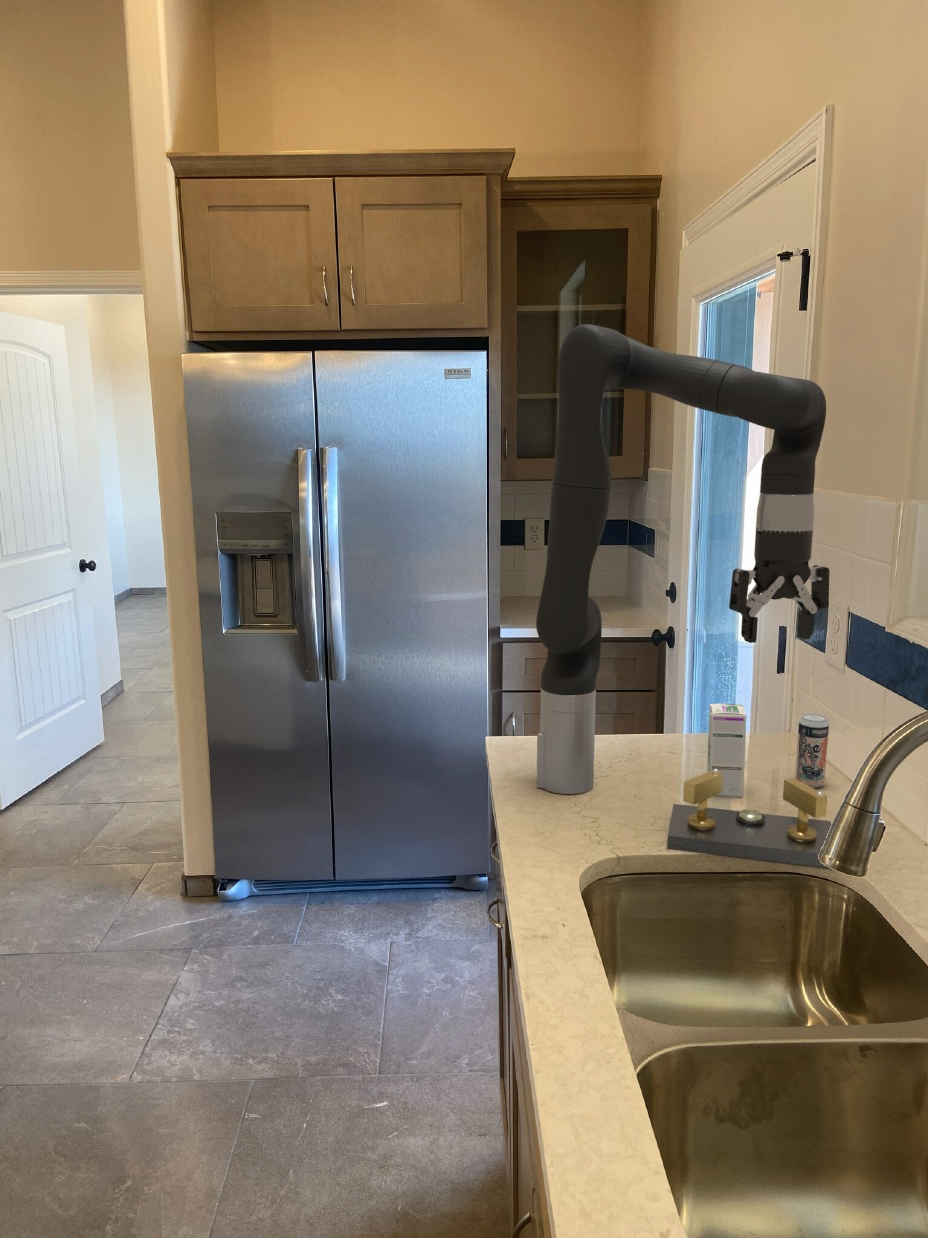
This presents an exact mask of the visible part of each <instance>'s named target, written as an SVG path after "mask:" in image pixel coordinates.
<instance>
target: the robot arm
mask: <svg viewBox="0 0 928 1238" xmlns="http://www.w3.org/2000/svg"><path fill="white" fill-rule="evenodd" d="M608 389H617V390H621V389H622V390H635V391H636V390H637V391H643V392H649V393H654V394H657V395H661V396H664V397H666V398H668V399H671V400H673V401H675V402H679V403H681V404H684V405H686V406H690V407H693V408H696V409H700V410H703V411H706V412H711V413H715V414H718V415H723V416H727V417H733V418H734V417H735V418H738V419H741V420H743V421H746V422H747V423H748V422H749V423H751V424H754V425H756V426H760V427H763V428H766V429H770V430H773V437H772V441H771V442H772V444H771V448H770V450H769V451H768V452H767V453H766V454H765V455H764V457H763V459H762V463H761V470H760V471H761V472H760V487H759V498H758V504H757V508H756V520H755V534H754V535H755V537H754V539H755V540H754V550H753V551H754V553H753V555H754V560H755V563H754V567H753V568H752V569H742V568H735V569H734V568H733V570H732V577H731V585H730V594H729V605H728V608H729V610H731V611H733V612H736V613H738V614H740V616H741V627H740V628H741V629H740V630H741V631H740V634H741V637H742V638H743V640H744V641H745V642H747V643H750V644H755V643H756V642H757V640H758V639H757V638H758V637H757V635H758V621H759V619H758V618H759V617H757V615H758V613H760V611H761V610H762V608H763V607H764V606H766V605H768V603H769V601H770V600H781V599H787V600H793V601H794V602H795V603H796V605H797V606H798V608H799V609H800V610H801V611H798V616H797V617H798V619H797V631H796V635H797V637H798V638H799V639H802V640H810V639H811V636H812V635H813V633H814V629H815V628H814V627H815V617H816V613H817V612H818V611H820V610H822V609H828V607H829V604H830V603H829V602H830V568H829V567H826V566H823V565H818V564H814V565H813V566H812V567H810V566H809V562H810V560H811V558H812V550H813V549H812V548H813V536H814V535H813V533H814V519H815V504H814V503H815V502H814V500H815V499H814V496H815V495H814V491H815V476H816V460H817V455H818V453H819V449H820V446H821V441H822V437H823V433H824V428H825V424H826V417H827V400H826V395H825V392H824V391H823V389H822V388H821V386H820V385H819V384H817V383H816V382H815V381H812V380H810V379H805V378H797V377H791V376H784V375H778V374H773V373H767V372H764V371H763V372H762V371H755V370H753V369H751V368H749V367H746V366H743V365H740V364H735V363H731V362H727V361H722V360H717V359H713V358H712V359H711V358H707V357H702V356H695V355H694V356H693V355H688V354H680V353H679V354H677V353H672V352H669V351H665V350H661V349H657V348H655V347H652V346H648V345H647V344H644V343H642V342H640V341H638V340H636V339H633V338H631V337H629V336H626V335H625V334H623V333H621V332H619V331H618V330H616V329H613V328H609V327H605V326H600V325H596V324H595V325H594V324H588V323H584V324H580V325H578V326H575V327H574V328H573V329H571V330H570V331H569V332H568V333H567V335H566V337H565V338H564V339H563V342H562V345H561V347H560V350H559V357H558V418H557V419H558V421H557V422H558V423H557V433H556V446H555V459H554V468H553V469H554V470H553V475H552V476H553V477H552V485H551V494H550V505H549V506H550V507H549V508H550V510H549V522H548V535H547V551H546V564H545V565H546V566H545V567H546V568H545V572H544V579H543V584H542V589H541V593H540V598H539V602H538V603H539V604H538V608H537V613H536V617H535V618H536V620H535V625H536V626H535V627H536V632H537V637H538V638H539V641H540V642H541V643H542V645H543V646H544V647H545V648H546V649H547V655H546V659H545V663H544V666H543V668H542V671H541V673H540V721H539V722H540V726H539V728H540V729H539V732H538V733H537V738H536V746H537V747H536V788H537V789H543V790H546V791H549V792H551V793H555V794H561V795H577V794H583V793H587V792H588V791H590V790H591V789H592V788H594V778H595V777H594V776H595V772H594V771H595V766H594V764H595V735H596V702H597V701H596V698H597V697H596V696H597V695H596V694H597V691H596V690H597V678H598V674H599V670H600V664H601V650H602V649H601V648H602V647H601V646H602V630H603V629H602V628H603V627H602V625H603V624H602V615H601V609H600V607H599V605H598V604H597V603H596V601H595V600H594V599H593V597H591V596H590V595H589V590H590V589H589V588H590V577H591V576H590V575H591V571H592V565H593V563H594V560H595V556H596V554H597V551H598V548H599V546H600V542H601V539H602V536H603V533H604V530H605V526H606V522H607V517H608V513H609V506H610V505H609V503H610V496H611V495H610V494H611V487H612V485H611V484H612V471H611V464H610V460H609V456H608V451H607V448H606V444H605V440H604V436H603V431H602V405H603V398H604V393H605V392H604V391H605V390H608ZM752 580H753V582H754V583H755V585H754V586H753V587H752V589H751V590H750V591H749V586H750V585H751V584H752ZM808 580H809V581H810V582H811V583H810V584H811V585H810V587H811V591H809V590H808V589H807V587H806V585H805V584H806V583H807V582H808ZM748 592H749V593H748ZM810 592H811V593H810Z"/></svg>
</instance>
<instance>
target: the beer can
mask: <svg viewBox="0 0 928 1238" xmlns="http://www.w3.org/2000/svg"><path fill="white" fill-rule="evenodd" d="M829 728H830V723H829V721H828V718H827V717H826V716H824V715H820V714H815V713H807V714H803V715H802V716H801V719H799V721H798V733H797V744H796V759H795V770H794V771H795V772H794V778H795V779H797V780H798V781H800V782H802V783H804V784H806V785H808V786H810V787H811V788H813V789H817V788H820V787H823V786H824V785H825V781H826V765H827V757H828V756H827V755H828V743H829V742H828V741H829V731H830V730H829Z"/></svg>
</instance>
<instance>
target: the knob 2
mask: <svg viewBox="0 0 928 1238" xmlns="http://www.w3.org/2000/svg"><path fill="white" fill-rule="evenodd" d="M782 789H783V791H782V800H783V801H785V802H787V803H789V804H790V805H791V806H794V807H795V808H797V810H798V811H797V817H798V821H797V825H790V826H788V828H787V836H788V837H789V838H791V839H793V840H795V841H799V842H813V841H815V840H816V838H817V831H816V830H815V829H814V828H812V827H809V826H808V819H809V816H811V817H812V818H813V819H818V818H823V817H824V818H825V817H827V807H828V795H826V794H824V793H823V791H821V790H819V791H818V790H817V789H816V788H811V787H810V786H808V785H806V784H804V783H802V782H800V781H798V780H797V779H795V777H794V778H788V779H787V778H786V779H784V780H783V788H782Z"/></svg>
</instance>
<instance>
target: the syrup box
mask: <svg viewBox="0 0 928 1238" xmlns="http://www.w3.org/2000/svg"><path fill="white" fill-rule="evenodd" d="M746 730H747V714H746V710H745V708H744V705H742V704H736V703H735V704H734V703H710V704H709V714H708V734H707V735H708V738H707V739H708V740H707V741H708V742H707V761H706V762H707V764H706V765H707V766H706V773H707V772H709V771H712V770H713V769H718V770H719V772H720V773H723V778H722V793H720V794H717V795H715V796H714V797H725V798H741V799H742V798H743V797H744V783H745V768H746V767H745V764H746V737H747V736H746V734H747V733H746V732H747V731H746Z"/></svg>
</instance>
